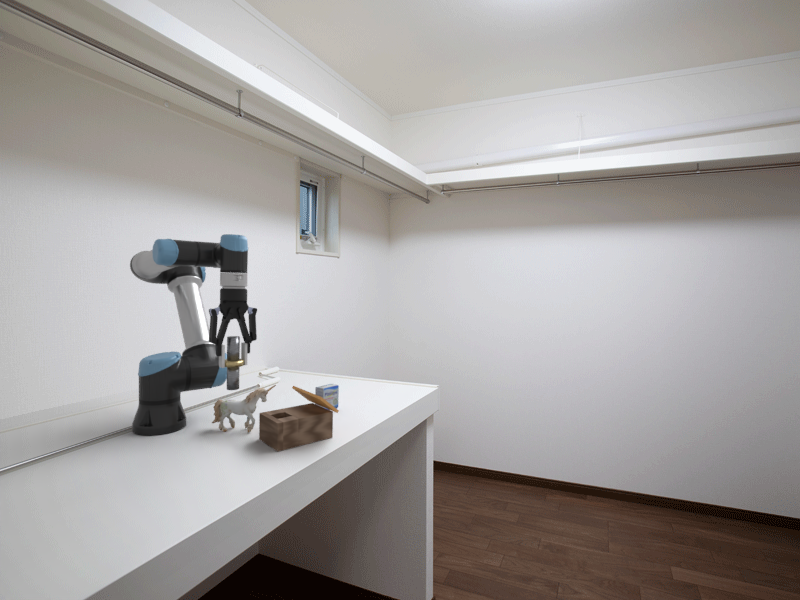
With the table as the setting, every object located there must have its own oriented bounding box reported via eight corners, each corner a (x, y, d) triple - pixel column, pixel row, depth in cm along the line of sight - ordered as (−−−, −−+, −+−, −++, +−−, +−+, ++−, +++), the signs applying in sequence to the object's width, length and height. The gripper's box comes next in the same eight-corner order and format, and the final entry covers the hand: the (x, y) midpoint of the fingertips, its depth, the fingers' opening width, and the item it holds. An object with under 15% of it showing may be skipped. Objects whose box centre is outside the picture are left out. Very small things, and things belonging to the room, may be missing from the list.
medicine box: (323, 412, 161) (323, 388, 160) (314, 409, 163) (315, 386, 163) (338, 407, 167) (339, 384, 166) (330, 405, 170) (330, 383, 169)
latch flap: (320, 399, 128) (321, 397, 129) (291, 387, 141) (293, 385, 141) (337, 413, 133) (338, 410, 133) (308, 400, 145) (310, 398, 146)
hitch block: (277, 451, 123) (277, 423, 123) (259, 439, 132) (259, 412, 132) (332, 437, 135) (332, 411, 135) (312, 427, 144) (312, 403, 144)
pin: (226, 392, 127) (226, 338, 126) (219, 388, 131) (219, 336, 131) (246, 389, 131) (247, 337, 130) (239, 385, 135) (239, 335, 135)
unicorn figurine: (275, 432, 139) (275, 389, 138) (208, 436, 134) (208, 392, 133) (275, 424, 146) (276, 384, 145) (212, 428, 141) (212, 386, 140)
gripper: (204, 287, 121) (204, 371, 122) (269, 288, 133) (268, 364, 134) (195, 287, 126) (195, 367, 127) (259, 287, 139) (258, 360, 140)
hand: (233, 365), depth 131 cm, fingers closed on pin, 6 cm apart
